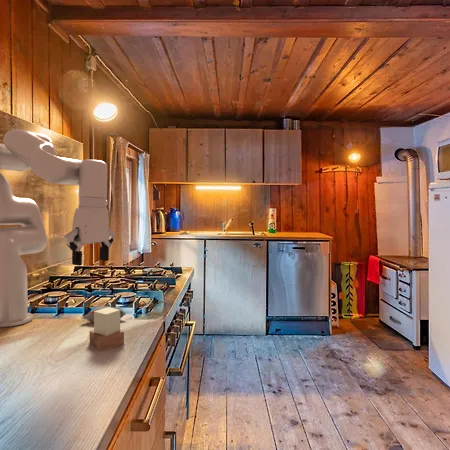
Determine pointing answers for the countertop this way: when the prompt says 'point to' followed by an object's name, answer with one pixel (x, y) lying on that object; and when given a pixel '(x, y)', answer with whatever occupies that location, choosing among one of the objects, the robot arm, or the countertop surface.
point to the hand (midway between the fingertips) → (91, 262)
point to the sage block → (106, 321)
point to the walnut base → (106, 340)
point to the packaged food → (91, 314)
